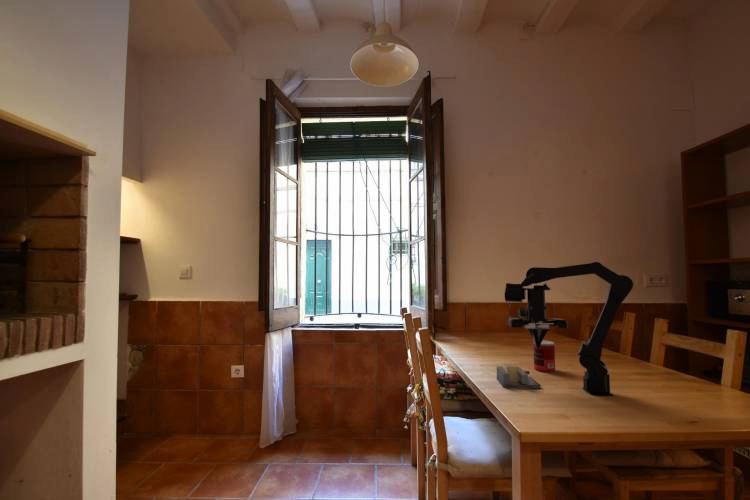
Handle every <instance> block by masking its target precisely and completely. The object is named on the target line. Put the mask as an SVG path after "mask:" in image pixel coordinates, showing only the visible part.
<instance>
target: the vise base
mask: <svg viewBox="0 0 750 500" xmlns="http://www.w3.org/2000/svg"><path fill="white" fill-rule="evenodd" d="M496 380H497V381H498V383H499V384H500V385H501V386H502V388H504V389H505V388H506V389H535V390H536V389H538V390H539V389H540V390H541V384H540V383H539V382H538V381H537V380H536V379H534V378H533V377H531V376H528V384H522V383H521V382H520V381H519V382H510V376H509V373H508V372H507V371H506V370H505V369H504V366H501V365H500V366H499V365H498V366H497V365H496Z"/></svg>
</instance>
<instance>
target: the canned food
mask: <svg viewBox="0 0 750 500" xmlns="http://www.w3.org/2000/svg"><path fill="white" fill-rule="evenodd" d="M555 348H556V347H555V342H554V341H549V340H542V343H541V345H540V347H539V348H536V346H535V344H534V342H533V348H532V349H533V367H534V368H533V369H534V370H535V371H537V372H540V373H541V372H542V373H554V372H555V370H556V351H555Z"/></svg>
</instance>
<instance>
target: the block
mask: <svg viewBox="0 0 750 500" xmlns="http://www.w3.org/2000/svg"><path fill="white" fill-rule="evenodd" d="M503 368H504V369H505V370H506V371H507V372H508V373H509V376H510V382H519V366H518V365H517V364H516V363H506V364H505V363H504V364H503Z"/></svg>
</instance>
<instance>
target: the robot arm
mask: <svg viewBox="0 0 750 500" xmlns="http://www.w3.org/2000/svg"><path fill="white" fill-rule="evenodd" d="M586 275H595V276H597V277H599V278H600V279H602V280H603V281H604V282H606V283H608V284H609V285H608V290H607V296H606V301H605V303H604V305H603V308H602V310H601V312H600V315H599V317H598V320H597V322H596V324H595V327H594V329H593V332H592V333H591V336H590V338H589V339H588V340H587V342H586V341H585V340H582V341H581V346H580V348H579V349H578V350H577V355H578V360H579V364H580V365H581V366H582V367H583V368H584V369H585V370H586V371H584V375H583V376H582V380H583V381H582V383H583V385H582V386H583V387H582V389H583V390H585V391H586V392H587V393H588V394H590V395H592V396H614V394H613V393H612V392H611V383H610V381H611V380H610V374H609V373H608V372H609V369H608V366H607V364H606V363H605V362H604V361H602V353H603V346H604V343H605V340H606V338H607V335H608V333H609V331H610V330H611V326H612V324H613V322H614V320H615V317H616V315H617V313H618V310H619V308H620V306H621V304H622V303H623V302H624V300H625V299H626V298H627V297H628V296H629V294H630V293H631V291H632V290H633V287H634V282H633V280H632V279H631V277H629V276H628V275H624V274H618V273H617V272H615V271H613V270H611V269H609V268H608V267H606V266H604V265H603V264H602V263H600V262H599V261H593V262H590V263H583V264H574V265H567V266H559V267H543V266H542V267H537V266H534V267H531V268H529V269H528V270H527V271H526V273H525V278H524V279H523V280H522V281H521V283H511V282H506V283H505V290H504V301H505V302H507V303H508V302H509V303H523V302H524V300H526V299H527V305H526V308H523V307H521V308H520V307H519V308H518V309H517V316H518V317H508V319H507V326H508V327H510V328H515V329H516V328H517V329H519V328H521V329H522V327H523V326H524V327H523V328H524V329H526V330H527V331H528V332H529V334H530V336H531V339H532V341H533V343H534V344H535V346H536V348H539V347H540V345H541V343H542V340H543V339H545V337H546V334H547V333H548V331H551V328H550V327H551V326H552V327H557V328H558V329H568V328H569V327H568V326H569V325H568V321H567V320H566V319H563V318H559V317H557V318H554V317H551V318H549V320H548V318H546V314H547V313H546V310H547V306H546V291H551V289H552V288H551V287H549V286H548V285H547V283H544V282H547V281H551V280H554V279H561V278H569V277H578V276H586ZM541 283H544V284H542V285H538V284H541ZM534 284H535V285H534ZM531 285H533V287H530V286H531ZM522 318H523V319H522ZM543 341H544V340H543Z"/></svg>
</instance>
